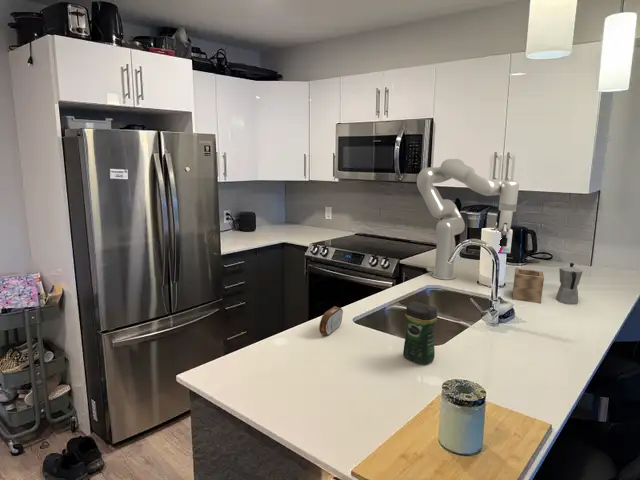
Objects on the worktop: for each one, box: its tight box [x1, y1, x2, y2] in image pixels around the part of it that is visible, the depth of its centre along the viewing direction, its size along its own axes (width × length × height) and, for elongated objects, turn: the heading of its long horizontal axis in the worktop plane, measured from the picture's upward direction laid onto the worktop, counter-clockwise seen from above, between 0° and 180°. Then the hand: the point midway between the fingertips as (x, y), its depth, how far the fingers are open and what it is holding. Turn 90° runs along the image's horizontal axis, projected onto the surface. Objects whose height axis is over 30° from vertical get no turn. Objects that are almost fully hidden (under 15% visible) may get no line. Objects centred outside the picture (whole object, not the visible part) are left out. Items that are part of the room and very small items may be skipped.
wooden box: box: [512, 268, 545, 304], centre depth 203 cm, size 12×12×12 cm
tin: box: [318, 305, 344, 336], centre depth 162 cm, size 15×3×8 cm, turn 152°
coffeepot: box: [555, 262, 584, 305], centre depth 198 cm, size 15×9×18 cm, turn 160°
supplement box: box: [496, 227, 514, 255], centre depth 210 cm, size 6×6×12 cm
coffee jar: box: [402, 300, 438, 365], centre depth 141 cm, size 10×8×19 cm
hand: (503, 244), depth 210 cm, fingers closed on supplement box, 6 cm apart
